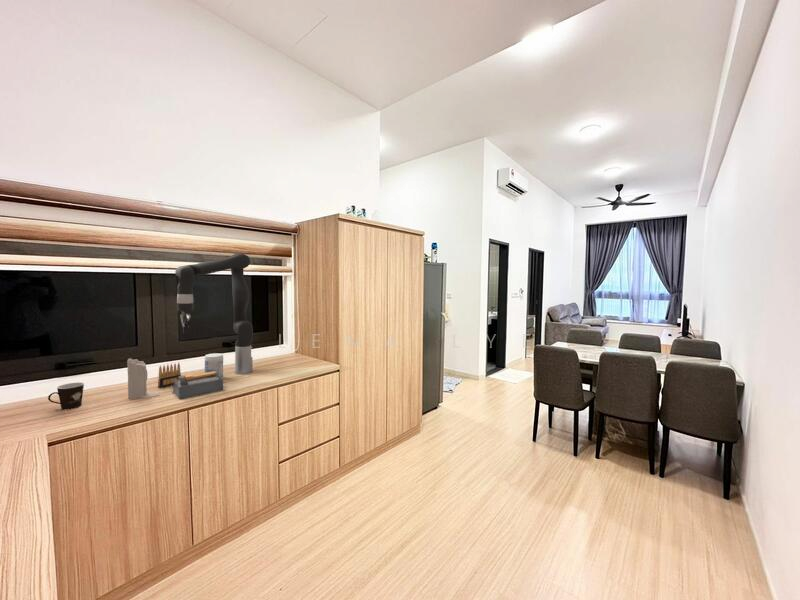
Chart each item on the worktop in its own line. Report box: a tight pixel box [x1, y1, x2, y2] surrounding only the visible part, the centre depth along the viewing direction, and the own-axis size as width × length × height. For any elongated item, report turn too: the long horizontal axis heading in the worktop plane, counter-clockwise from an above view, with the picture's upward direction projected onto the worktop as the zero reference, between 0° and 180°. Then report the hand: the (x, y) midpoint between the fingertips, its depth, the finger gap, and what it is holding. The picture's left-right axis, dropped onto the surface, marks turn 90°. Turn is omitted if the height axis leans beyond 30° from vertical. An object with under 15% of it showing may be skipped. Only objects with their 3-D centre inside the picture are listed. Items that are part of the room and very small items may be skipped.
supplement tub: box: [204, 352, 224, 379], centre depth 192 cm, size 10×10×15 cm
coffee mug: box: [47, 381, 85, 411], centre depth 147 cm, size 12×9×10 cm
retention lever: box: [183, 371, 216, 379], centre depth 173 cm, size 14×4×2 cm, turn 135°
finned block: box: [172, 370, 224, 400], centre depth 173 cm, size 20×14×9 cm
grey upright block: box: [126, 358, 163, 400], centre depth 164 cm, size 7×14×20 cm, turn 119°
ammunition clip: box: [157, 362, 182, 389], centre depth 180 cm, size 11×2×12 cm, turn 145°
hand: (185, 333), depth 181 cm, fingers closed
